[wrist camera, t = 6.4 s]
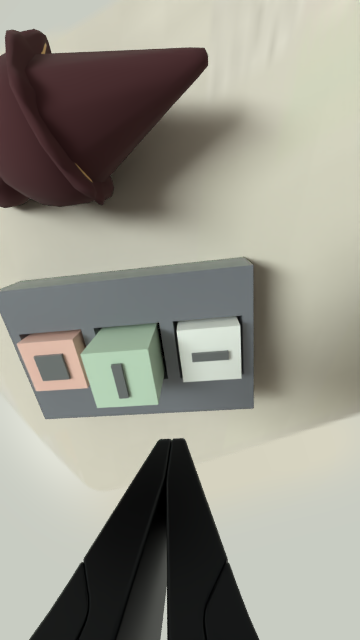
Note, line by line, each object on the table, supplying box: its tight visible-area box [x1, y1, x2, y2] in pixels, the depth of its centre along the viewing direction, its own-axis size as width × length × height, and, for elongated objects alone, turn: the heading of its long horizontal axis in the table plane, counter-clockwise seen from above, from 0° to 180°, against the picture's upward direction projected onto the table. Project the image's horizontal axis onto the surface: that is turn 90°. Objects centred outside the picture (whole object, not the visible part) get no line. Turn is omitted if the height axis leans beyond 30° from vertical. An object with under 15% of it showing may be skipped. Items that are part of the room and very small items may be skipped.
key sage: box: [80, 323, 165, 408], centre depth 17 cm, size 4×4×4 cm
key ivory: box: [177, 316, 242, 382], centre depth 18 cm, size 4×4×4 cm
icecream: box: [0, 29, 208, 208], centre depth 13 cm, size 7×7×15 cm
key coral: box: [17, 329, 90, 391], centre depth 19 cm, size 4×4×4 cm
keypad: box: [0, 257, 254, 419], centre depth 19 cm, size 17×11×3 cm, turn 97°
